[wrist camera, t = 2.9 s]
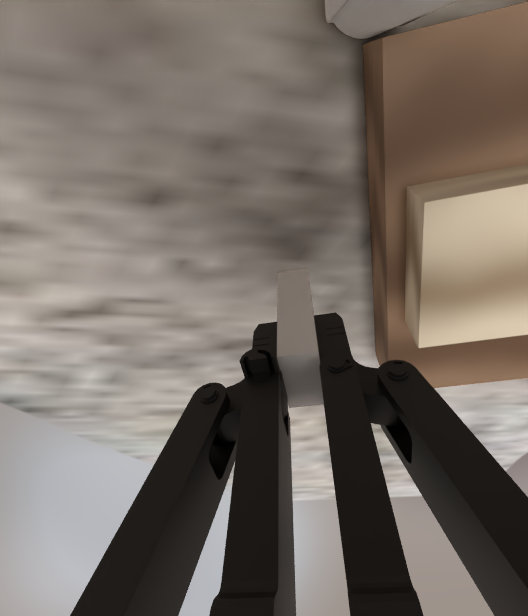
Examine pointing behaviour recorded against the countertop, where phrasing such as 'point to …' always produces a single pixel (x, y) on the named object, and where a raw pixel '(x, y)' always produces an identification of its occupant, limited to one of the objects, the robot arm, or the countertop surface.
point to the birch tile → (467, 258)
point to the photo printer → (376, 14)
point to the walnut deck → (441, 162)
